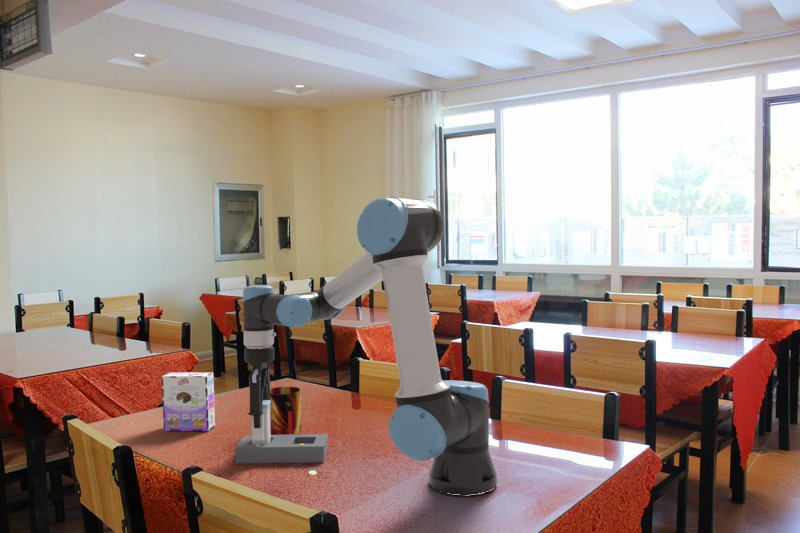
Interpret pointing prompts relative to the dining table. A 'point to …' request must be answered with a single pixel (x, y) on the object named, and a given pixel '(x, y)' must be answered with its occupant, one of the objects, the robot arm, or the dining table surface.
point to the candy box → (188, 401)
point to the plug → (266, 424)
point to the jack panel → (283, 449)
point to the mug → (285, 411)
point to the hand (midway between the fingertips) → (261, 435)
